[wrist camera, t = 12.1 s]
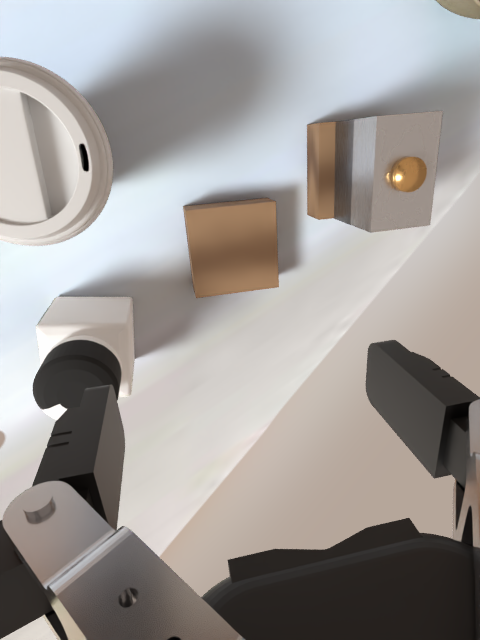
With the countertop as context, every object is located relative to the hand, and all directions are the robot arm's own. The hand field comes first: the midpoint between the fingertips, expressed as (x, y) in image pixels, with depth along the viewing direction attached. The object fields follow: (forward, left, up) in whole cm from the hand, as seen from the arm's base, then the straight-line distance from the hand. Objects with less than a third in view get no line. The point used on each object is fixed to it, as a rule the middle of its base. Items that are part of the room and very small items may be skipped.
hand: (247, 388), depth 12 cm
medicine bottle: (+9, -10, -28) cm, 31 cm away
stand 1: (+2, +4, -28) cm, 28 cm away
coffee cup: (-7, -9, -28) cm, 31 cm away
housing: (-4, +16, -25) cm, 30 cm away
